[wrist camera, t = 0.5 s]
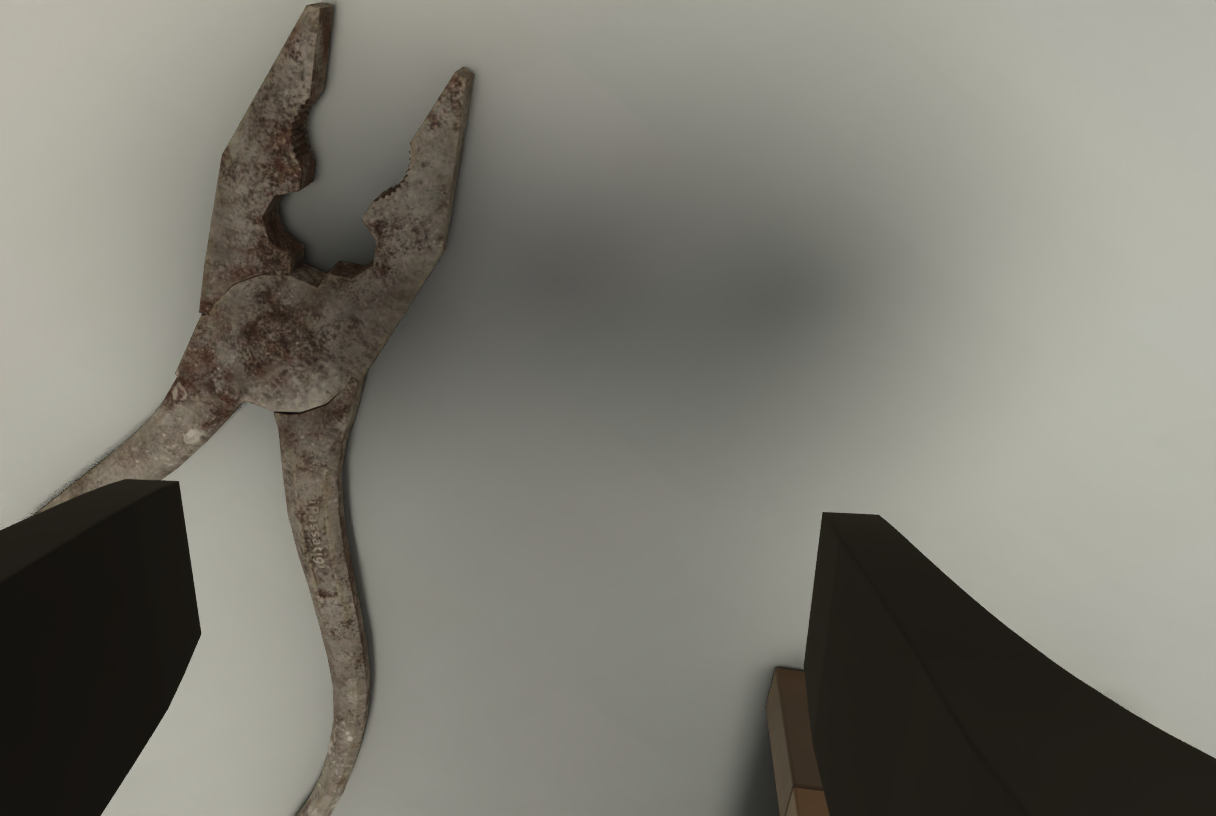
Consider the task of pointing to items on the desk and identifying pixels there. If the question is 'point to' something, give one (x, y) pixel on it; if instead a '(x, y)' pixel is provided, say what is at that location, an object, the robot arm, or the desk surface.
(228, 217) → the pliers
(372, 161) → the desk surface
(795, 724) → the brown wooden bridge block
